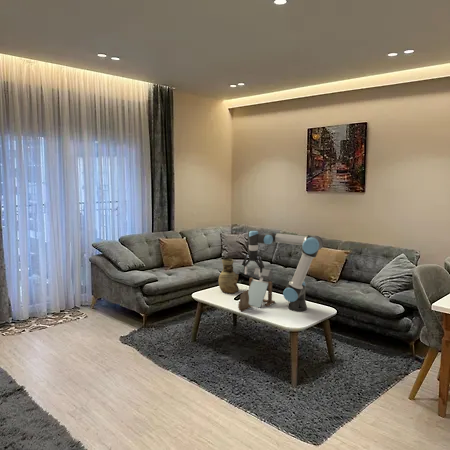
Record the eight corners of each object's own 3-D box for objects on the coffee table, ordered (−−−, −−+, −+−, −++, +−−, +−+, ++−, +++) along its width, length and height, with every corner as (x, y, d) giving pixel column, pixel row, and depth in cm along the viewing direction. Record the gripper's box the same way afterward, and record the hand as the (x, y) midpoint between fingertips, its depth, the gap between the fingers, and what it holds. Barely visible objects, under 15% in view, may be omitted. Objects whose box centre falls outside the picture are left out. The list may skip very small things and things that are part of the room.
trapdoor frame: (274, 302, 344) (275, 280, 341) (267, 306, 334) (268, 283, 331) (252, 297, 356) (253, 276, 354) (245, 301, 346) (246, 279, 344)
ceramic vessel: (244, 292, 374) (245, 260, 370) (225, 295, 363) (225, 262, 359) (233, 287, 390) (233, 256, 386) (214, 290, 379) (214, 259, 375)
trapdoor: (274, 273, 345) (271, 270, 340) (261, 309, 332) (258, 306, 327) (258, 271, 354) (254, 267, 349) (245, 305, 341) (242, 302, 336)
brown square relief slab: (252, 306, 332) (242, 314, 320) (248, 305, 334) (238, 313, 322) (251, 287, 327) (241, 295, 316) (247, 286, 330) (236, 294, 318)
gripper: (268, 250, 324) (268, 276, 327) (242, 247, 339) (242, 272, 341) (264, 252, 318) (263, 278, 321) (238, 248, 332) (237, 273, 335)
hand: (252, 275), depth 331 cm, fingers open, 13 cm apart
